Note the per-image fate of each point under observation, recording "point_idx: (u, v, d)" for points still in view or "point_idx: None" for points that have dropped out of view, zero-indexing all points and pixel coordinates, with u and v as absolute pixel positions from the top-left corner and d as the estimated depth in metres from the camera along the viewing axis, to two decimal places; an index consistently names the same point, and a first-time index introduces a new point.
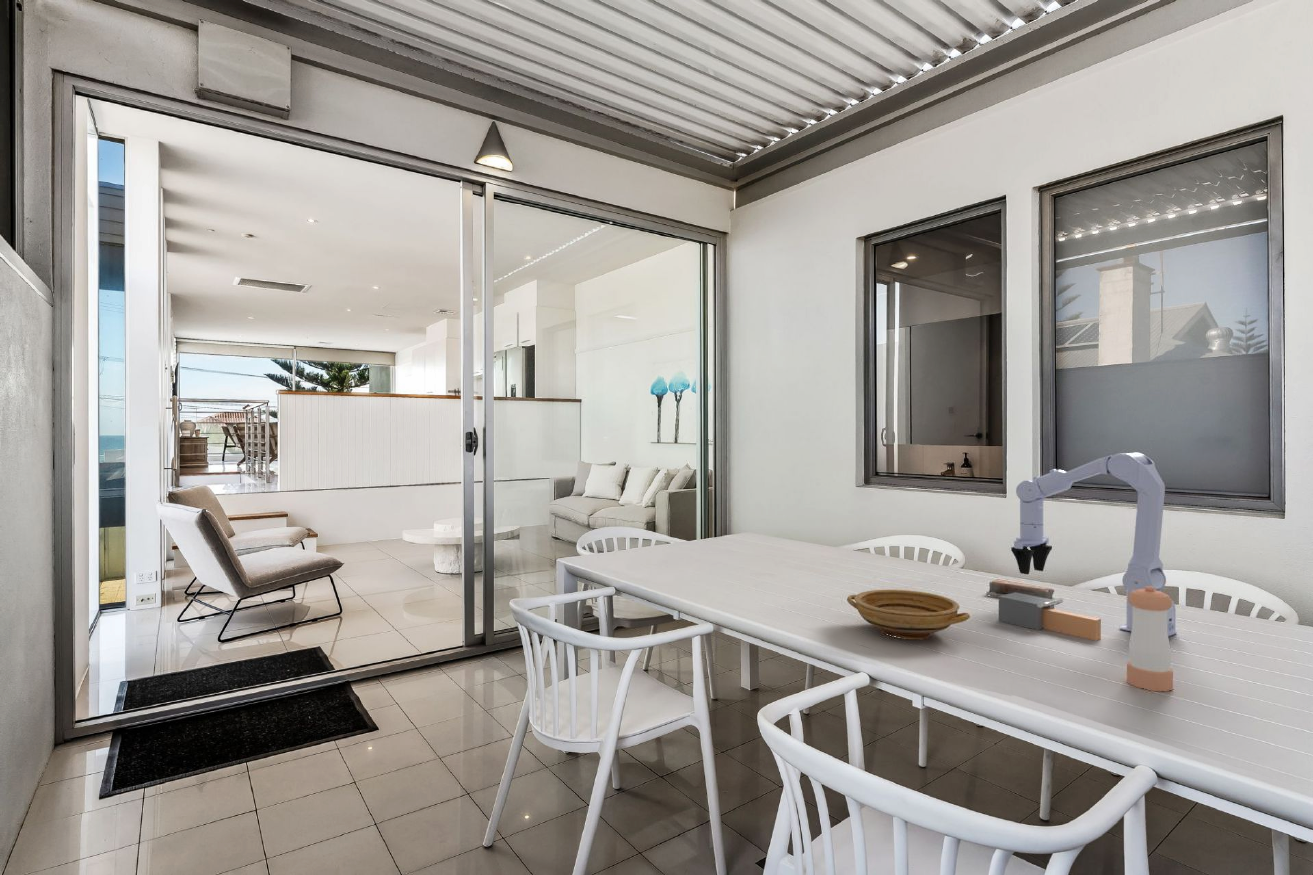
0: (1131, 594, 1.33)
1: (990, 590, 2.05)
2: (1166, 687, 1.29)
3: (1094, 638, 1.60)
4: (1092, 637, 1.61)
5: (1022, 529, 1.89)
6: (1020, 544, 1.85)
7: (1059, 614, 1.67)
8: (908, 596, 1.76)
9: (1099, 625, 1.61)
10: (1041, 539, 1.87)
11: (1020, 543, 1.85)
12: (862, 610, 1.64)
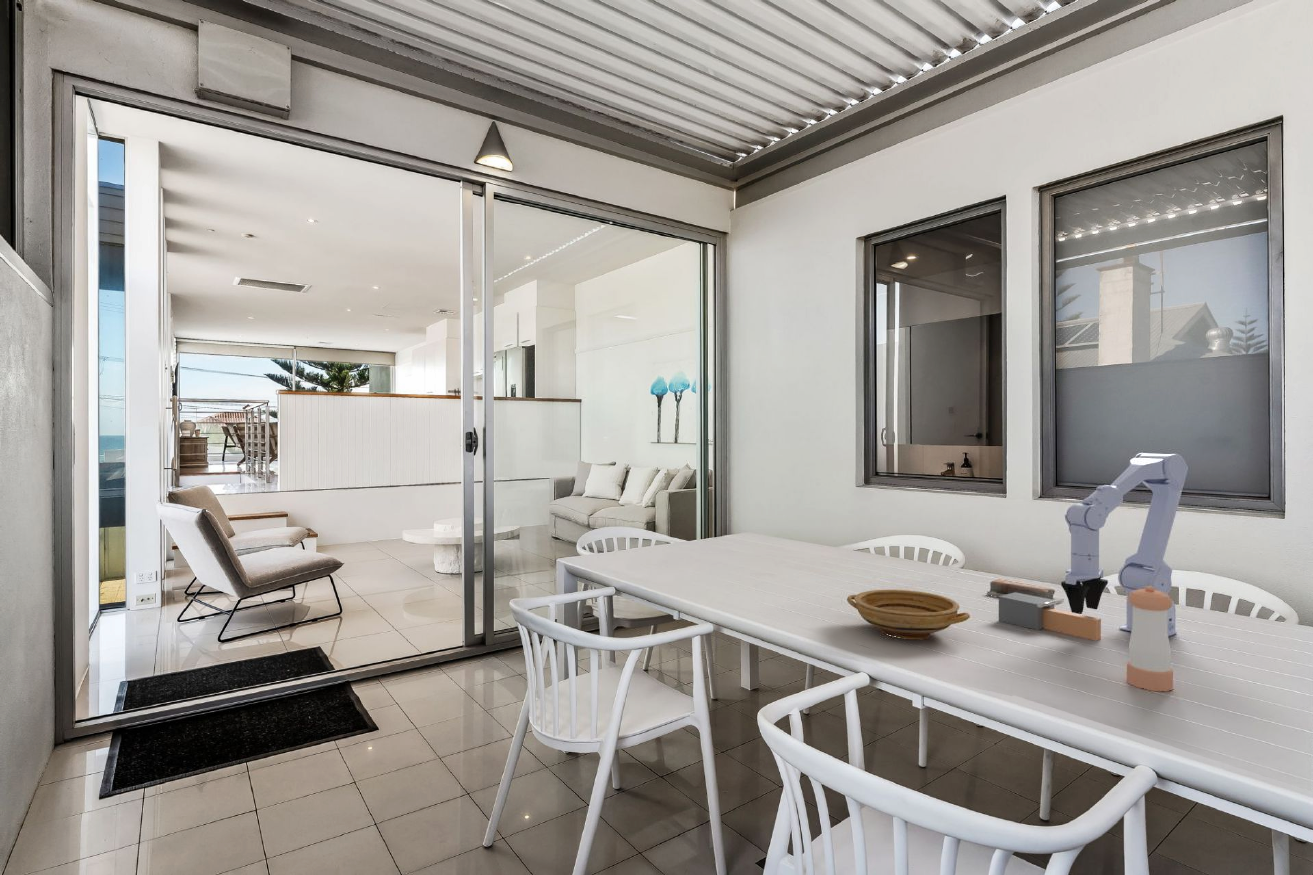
0: (1131, 594, 1.33)
1: (991, 590, 2.05)
2: (1166, 687, 1.29)
3: (1094, 638, 1.60)
4: (1092, 637, 1.61)
5: (1074, 561, 1.63)
6: (1073, 579, 1.58)
7: (1059, 614, 1.67)
8: (908, 596, 1.76)
9: (1099, 625, 1.61)
10: (1097, 573, 1.61)
11: (1073, 578, 1.58)
12: (862, 610, 1.64)
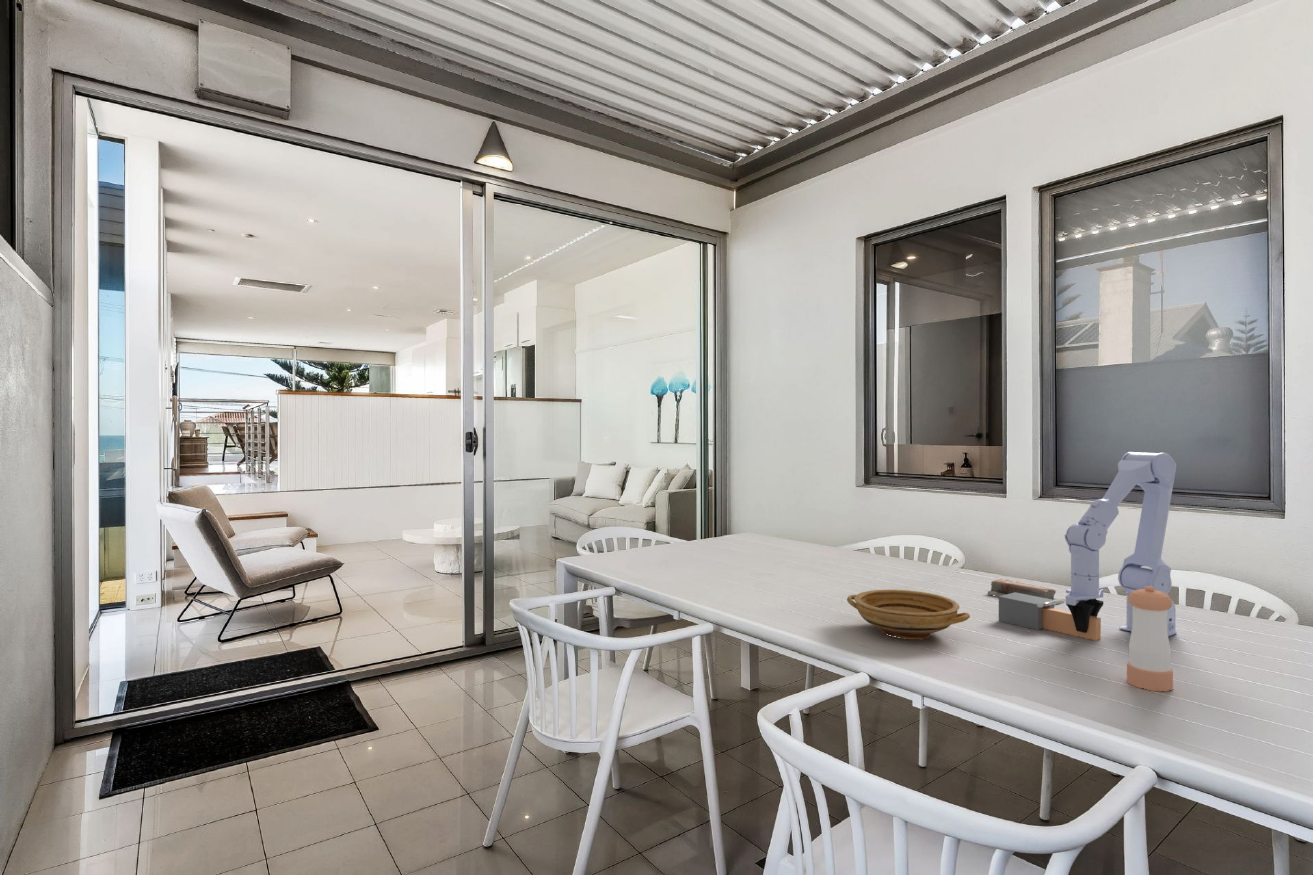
0: (1131, 594, 1.33)
1: (992, 589, 2.05)
2: (1166, 687, 1.29)
3: (1094, 637, 1.60)
4: (1092, 636, 1.61)
5: (1074, 581, 1.63)
6: (1073, 600, 1.58)
7: (1059, 613, 1.67)
8: (908, 596, 1.76)
9: (1099, 624, 1.61)
10: (1097, 593, 1.61)
11: (1073, 598, 1.58)
12: (862, 610, 1.64)
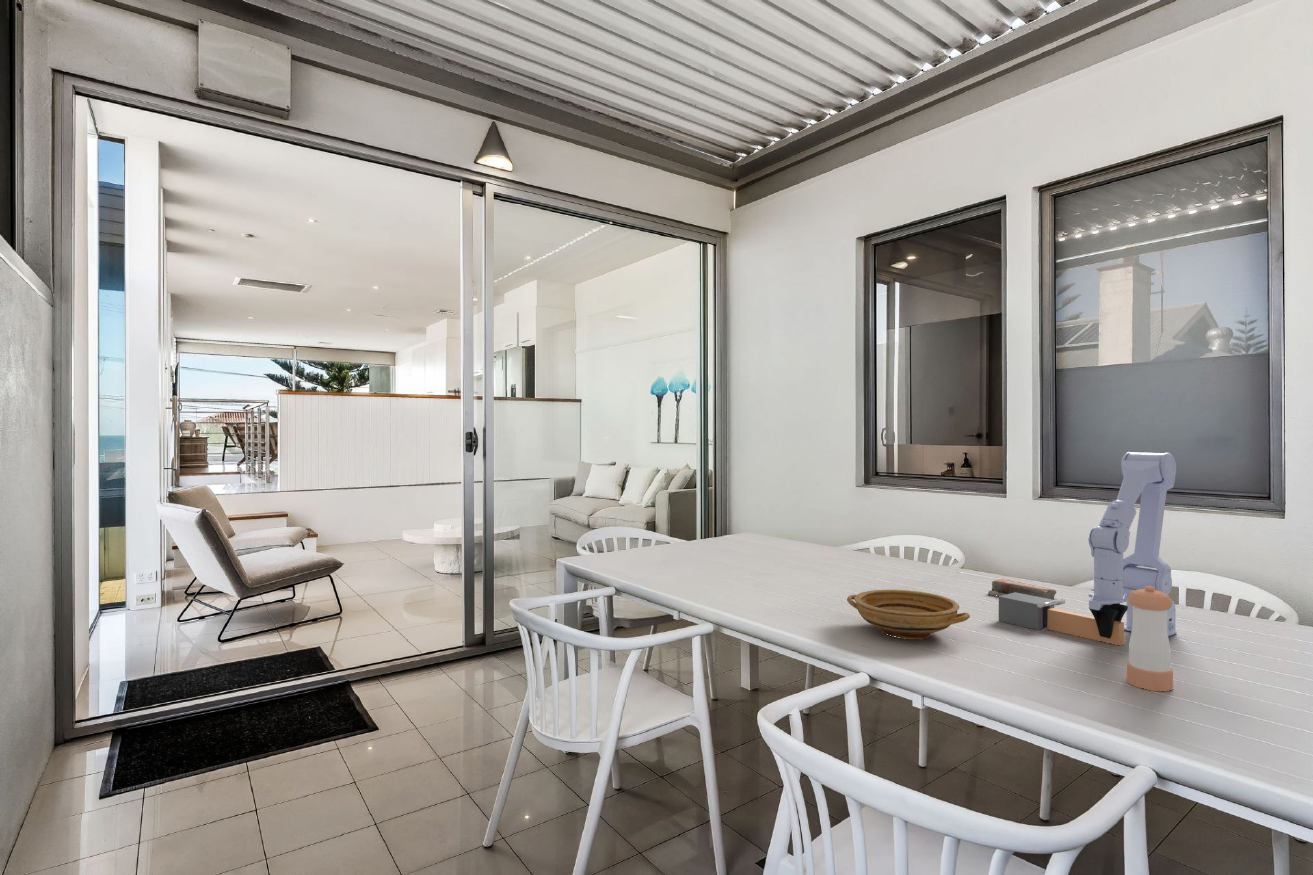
0: (1131, 594, 1.33)
1: (992, 589, 2.06)
2: (1166, 687, 1.29)
3: (1117, 642, 1.56)
4: (1115, 641, 1.57)
5: (1097, 585, 1.58)
6: (1097, 604, 1.54)
7: (1080, 617, 1.63)
8: (908, 596, 1.76)
9: (1122, 629, 1.57)
10: (1121, 597, 1.56)
11: (1097, 603, 1.54)
12: (862, 610, 1.64)
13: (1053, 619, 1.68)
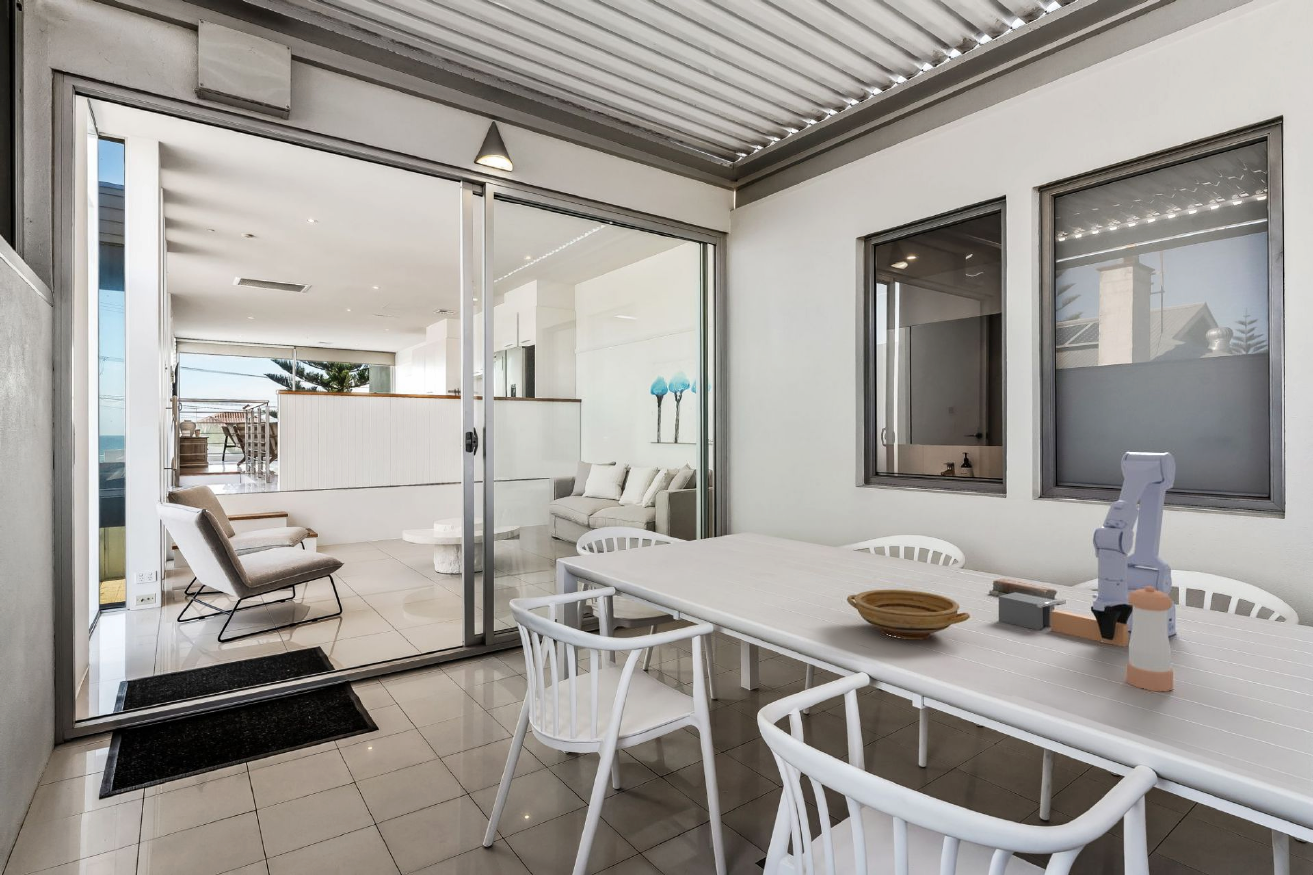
0: (1131, 594, 1.33)
1: (993, 589, 2.06)
2: (1166, 687, 1.29)
3: (1121, 644, 1.55)
4: (1119, 643, 1.56)
5: (1101, 585, 1.58)
6: (1101, 605, 1.53)
7: (1084, 619, 1.62)
8: (908, 596, 1.76)
9: (1126, 631, 1.56)
10: (1125, 598, 1.56)
11: (1101, 604, 1.53)
12: (862, 610, 1.64)
13: (1057, 621, 1.67)
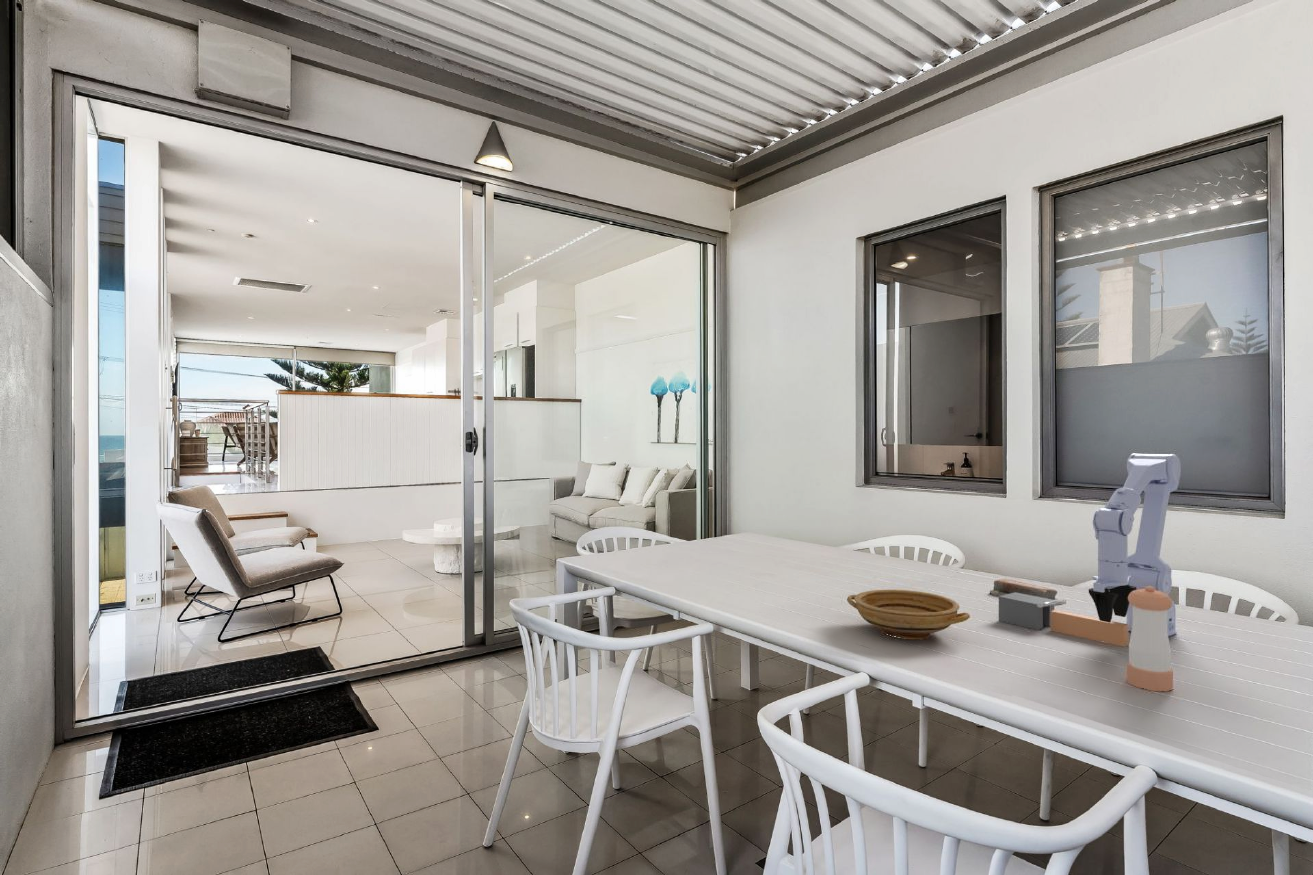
0: (1131, 594, 1.33)
1: (994, 589, 2.06)
2: (1166, 687, 1.29)
3: (1122, 644, 1.56)
4: (1120, 643, 1.56)
5: (1101, 567, 1.58)
6: (1101, 586, 1.53)
7: (1084, 619, 1.62)
8: (908, 596, 1.76)
9: (1127, 631, 1.56)
10: (1125, 580, 1.56)
11: (1101, 585, 1.53)
12: (862, 610, 1.64)
13: (1056, 621, 1.67)
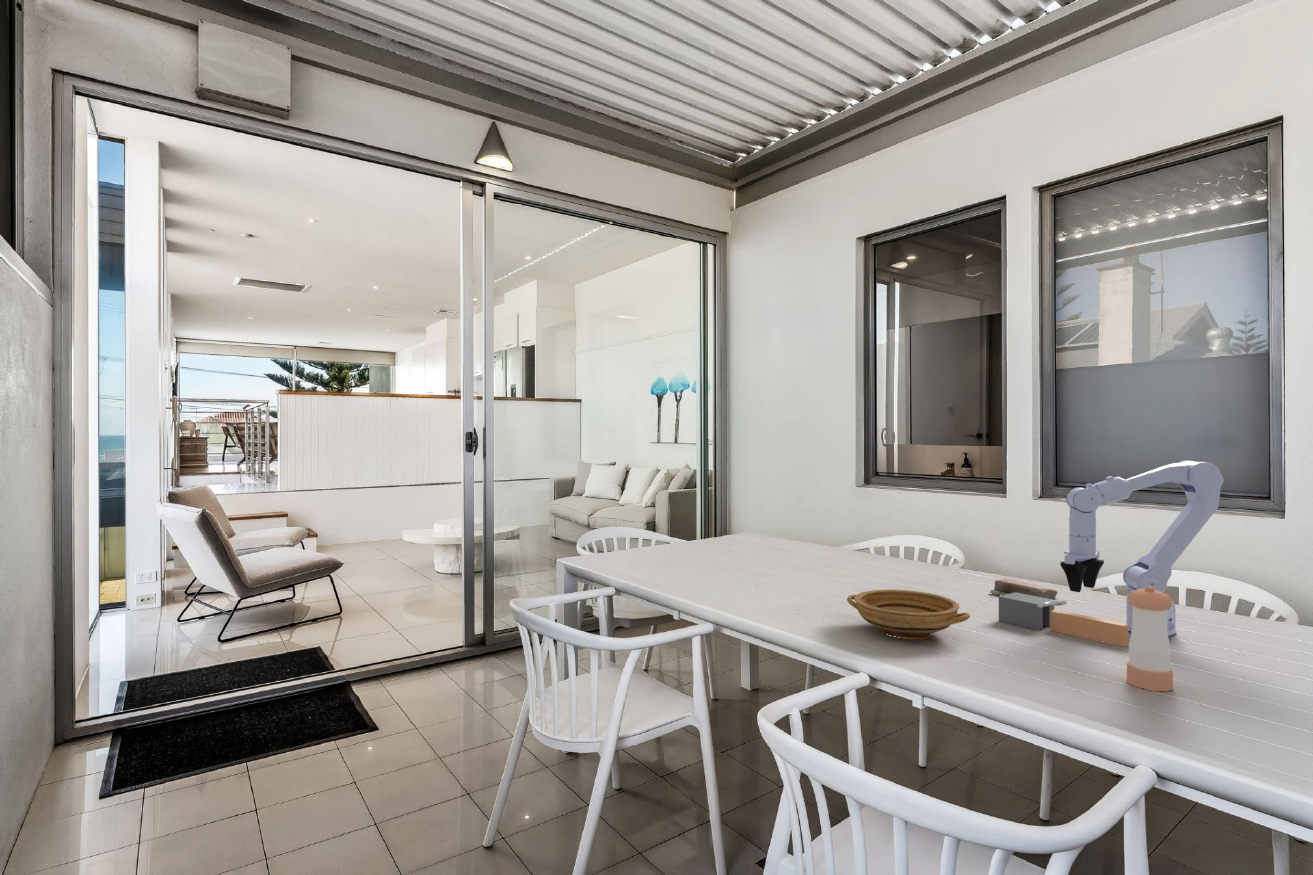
0: (1131, 594, 1.33)
1: (995, 588, 2.07)
2: (1166, 687, 1.29)
3: (1122, 644, 1.56)
4: (1120, 643, 1.56)
5: (1072, 542, 1.71)
6: (1072, 559, 1.66)
7: (1084, 619, 1.62)
8: (908, 596, 1.76)
9: (1127, 631, 1.56)
10: (1094, 553, 1.69)
11: (1072, 558, 1.66)
12: (862, 610, 1.64)
13: (1056, 621, 1.67)
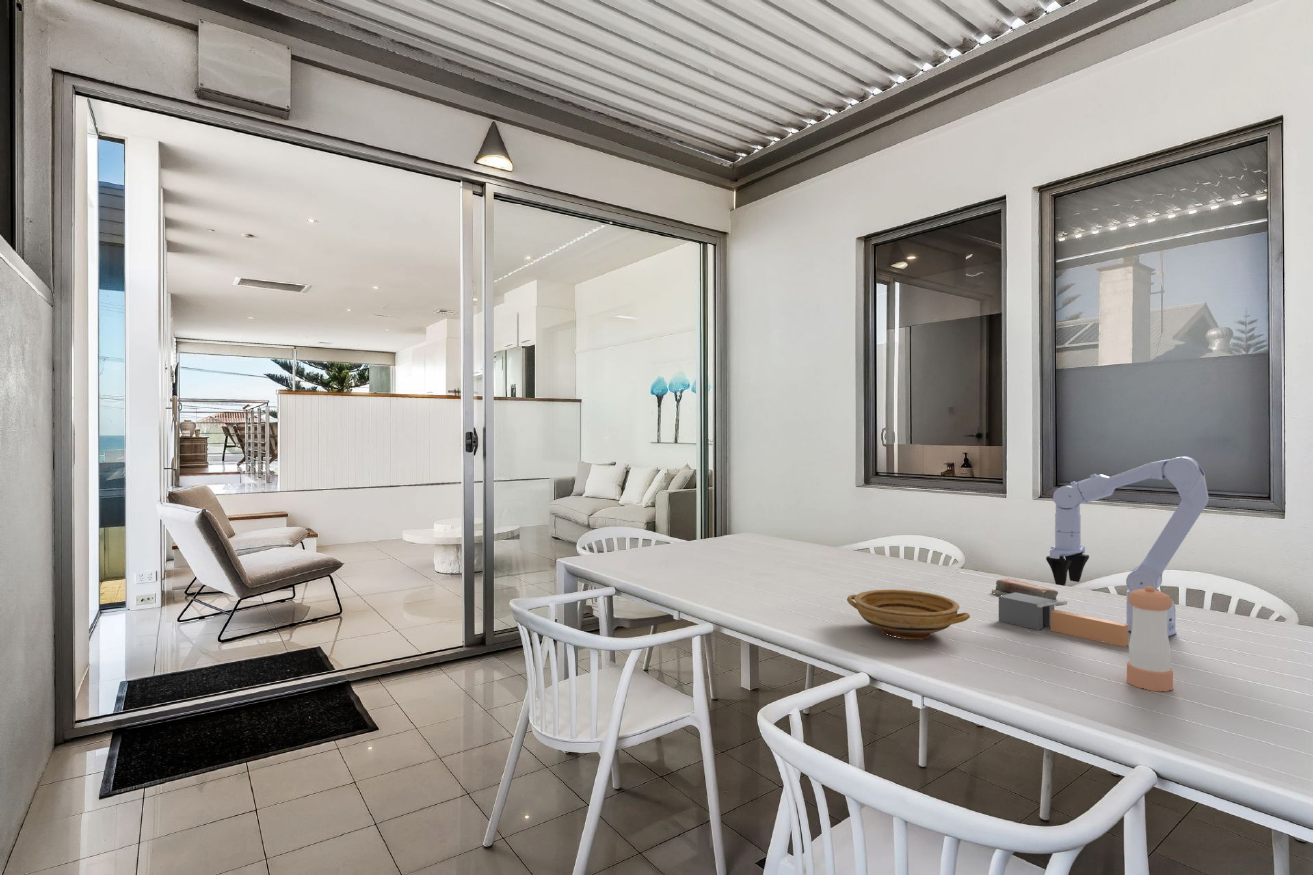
0: (1131, 594, 1.33)
1: (996, 588, 2.07)
2: (1166, 687, 1.29)
3: (1122, 644, 1.56)
4: (1120, 643, 1.56)
5: (1058, 537, 1.78)
6: (1056, 553, 1.74)
7: (1084, 619, 1.62)
8: (908, 596, 1.76)
9: (1127, 631, 1.56)
10: (1078, 548, 1.76)
11: (1056, 552, 1.74)
12: (862, 610, 1.64)
13: (1057, 621, 1.67)
